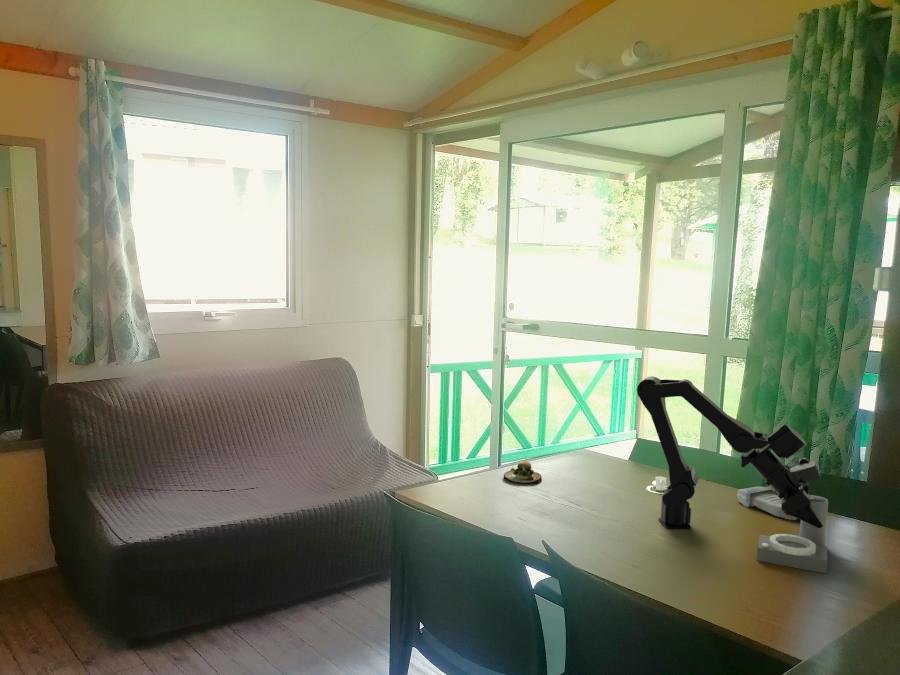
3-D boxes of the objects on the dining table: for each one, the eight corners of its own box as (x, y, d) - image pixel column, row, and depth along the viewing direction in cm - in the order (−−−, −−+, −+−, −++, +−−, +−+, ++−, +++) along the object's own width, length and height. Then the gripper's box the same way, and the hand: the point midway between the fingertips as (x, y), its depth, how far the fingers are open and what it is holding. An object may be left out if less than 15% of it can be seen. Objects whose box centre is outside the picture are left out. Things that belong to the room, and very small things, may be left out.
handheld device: (795, 527, 178) (796, 509, 177) (732, 503, 196) (733, 487, 196) (820, 521, 182) (821, 504, 182) (756, 498, 200) (757, 483, 200)
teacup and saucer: (652, 484, 212) (653, 471, 212) (678, 489, 208) (678, 476, 207) (642, 491, 205) (643, 478, 205) (668, 497, 200) (669, 483, 200)
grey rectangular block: (756, 560, 156) (757, 543, 155) (759, 546, 164) (760, 529, 164) (826, 574, 149) (827, 555, 149) (825, 558, 158) (826, 540, 157)
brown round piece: (496, 479, 214) (496, 456, 214) (520, 472, 222) (521, 450, 222) (524, 489, 206) (525, 464, 205) (549, 481, 214) (550, 458, 213)
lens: (807, 551, 161) (810, 502, 160) (794, 542, 167) (797, 494, 166) (831, 551, 162) (834, 502, 160) (817, 542, 167) (821, 494, 166)
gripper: (801, 459, 155) (853, 514, 152) (798, 441, 172) (845, 490, 168) (761, 488, 159) (811, 542, 156) (762, 467, 176) (807, 516, 172)
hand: (820, 521), depth 163 cm, fingers open, 8 cm apart
